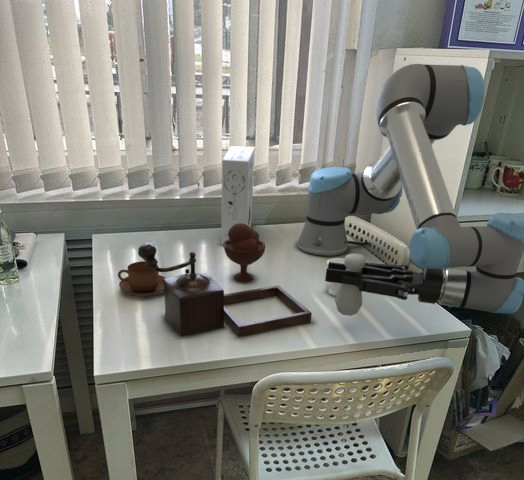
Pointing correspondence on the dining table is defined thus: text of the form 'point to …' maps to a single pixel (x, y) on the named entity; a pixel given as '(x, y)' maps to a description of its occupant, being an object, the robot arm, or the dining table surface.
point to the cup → (332, 285)
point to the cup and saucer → (141, 280)
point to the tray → (268, 324)
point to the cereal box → (237, 188)
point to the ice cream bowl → (243, 249)
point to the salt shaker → (350, 288)
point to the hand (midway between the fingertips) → (327, 271)
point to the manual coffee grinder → (188, 296)
